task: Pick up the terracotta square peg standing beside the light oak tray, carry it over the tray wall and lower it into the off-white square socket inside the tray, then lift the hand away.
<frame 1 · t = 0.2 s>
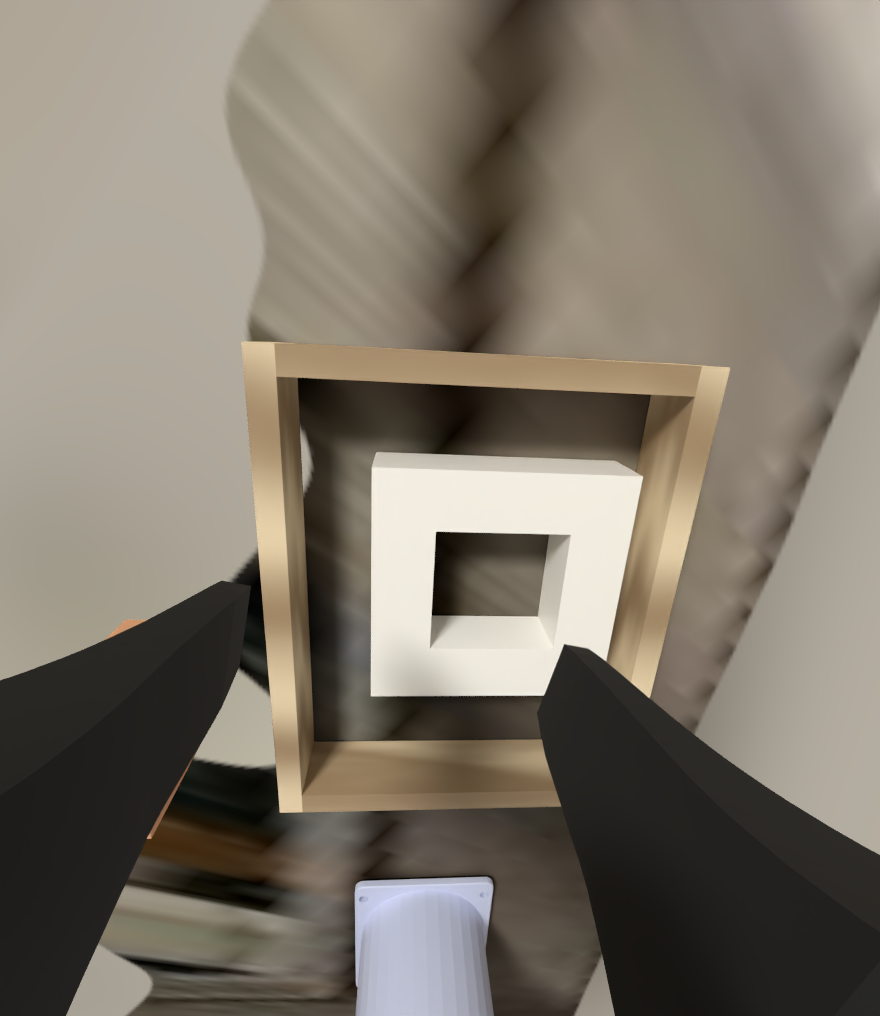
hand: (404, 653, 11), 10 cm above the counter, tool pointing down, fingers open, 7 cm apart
peg: (178, 657, 22), on the counter
tray: (464, 585, 21), on the counter
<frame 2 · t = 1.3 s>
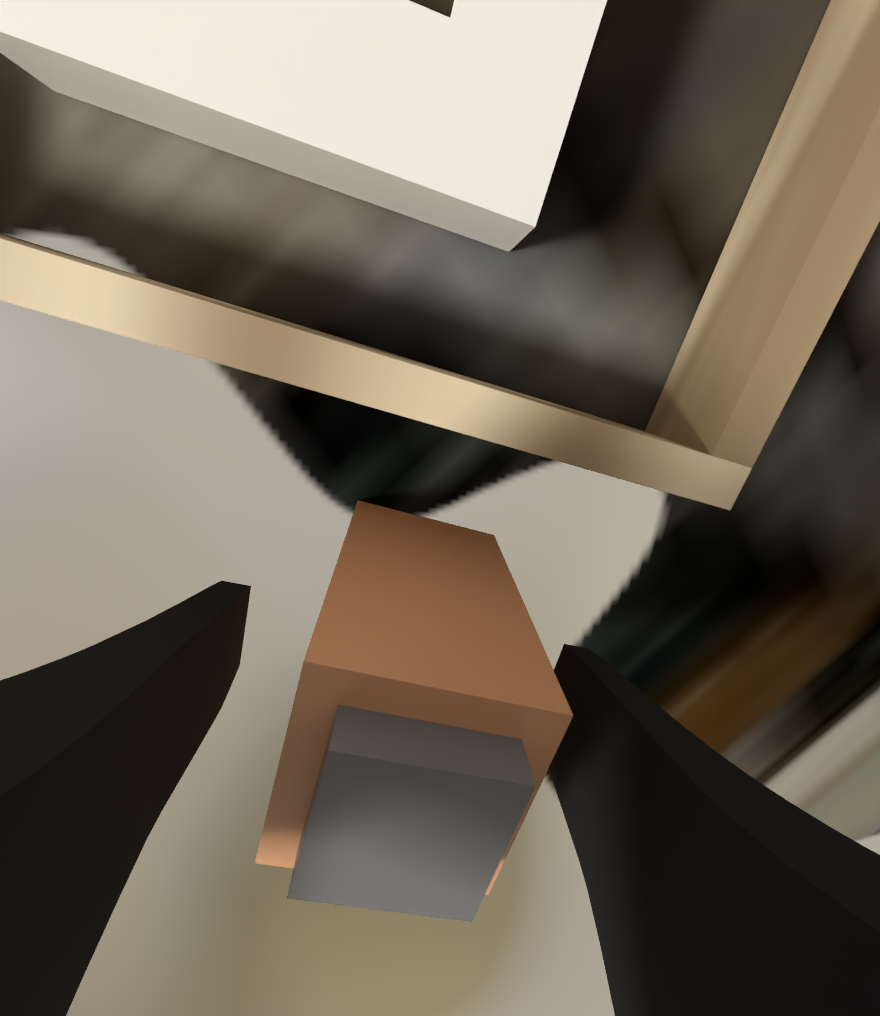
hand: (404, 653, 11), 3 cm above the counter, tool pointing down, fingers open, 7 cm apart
peg: (408, 579, 14), on the counter
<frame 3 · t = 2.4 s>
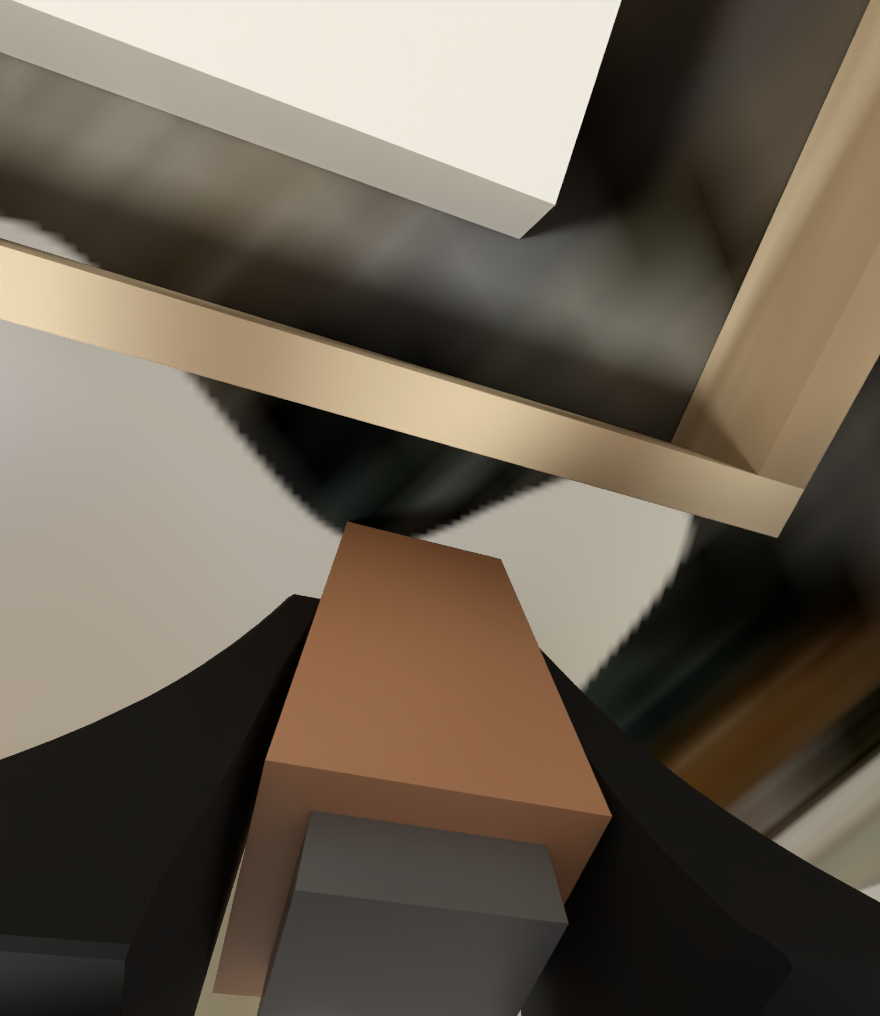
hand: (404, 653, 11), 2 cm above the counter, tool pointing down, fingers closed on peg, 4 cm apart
peg: (405, 608, 12), on the counter, touching gripper
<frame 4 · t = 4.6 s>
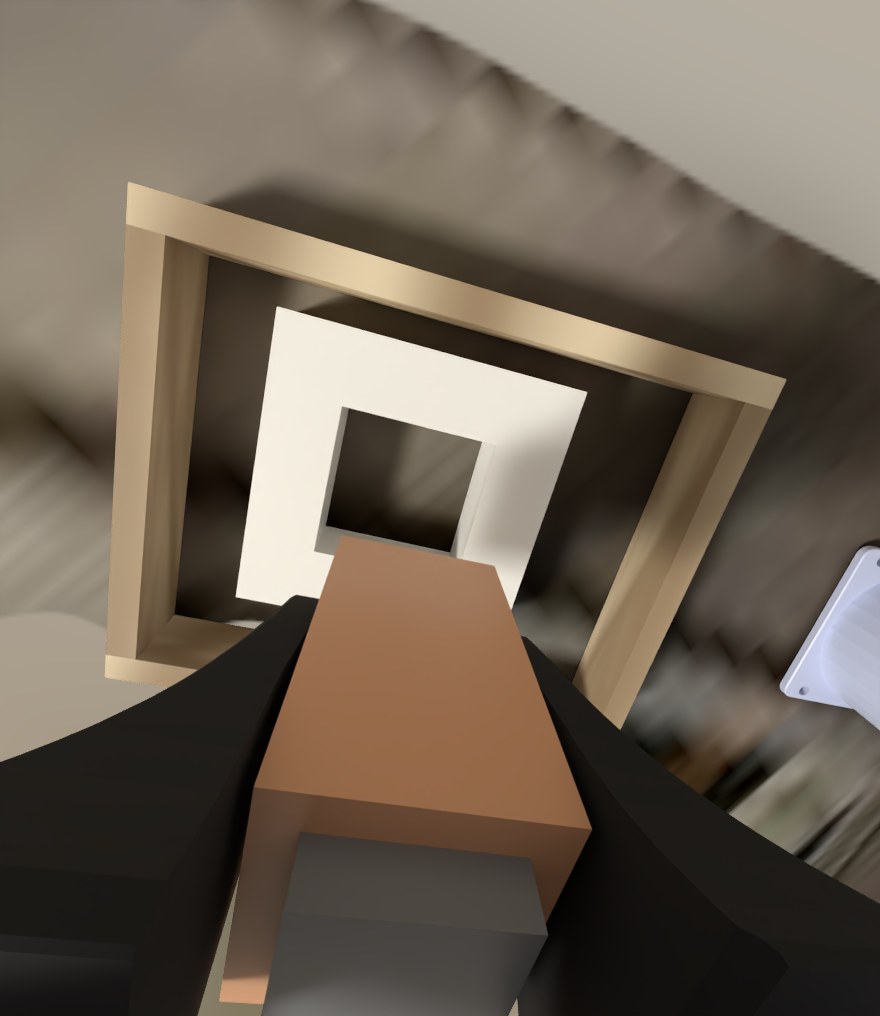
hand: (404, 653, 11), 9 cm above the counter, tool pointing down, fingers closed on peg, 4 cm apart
peg: (402, 616, 13), point 7 cm above the counter, touching gripper
tray: (422, 508, 19), on the counter
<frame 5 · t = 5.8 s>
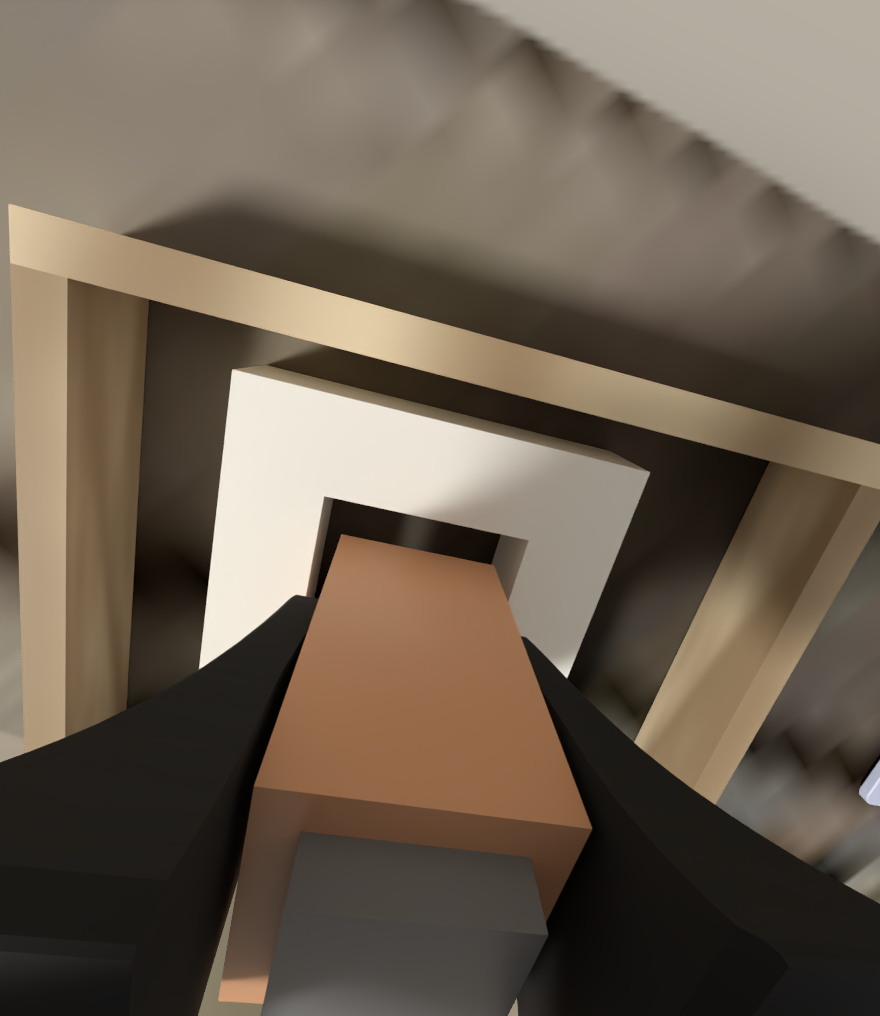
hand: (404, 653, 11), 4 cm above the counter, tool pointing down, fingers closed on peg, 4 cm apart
peg: (402, 616, 13), point 2 cm above the counter, touching gripper
tray: (429, 600, 15), on the counter
when the fingers open (3 cm above the counter, at t = 6.9 s): peg drops 1 cm, resting in tray.
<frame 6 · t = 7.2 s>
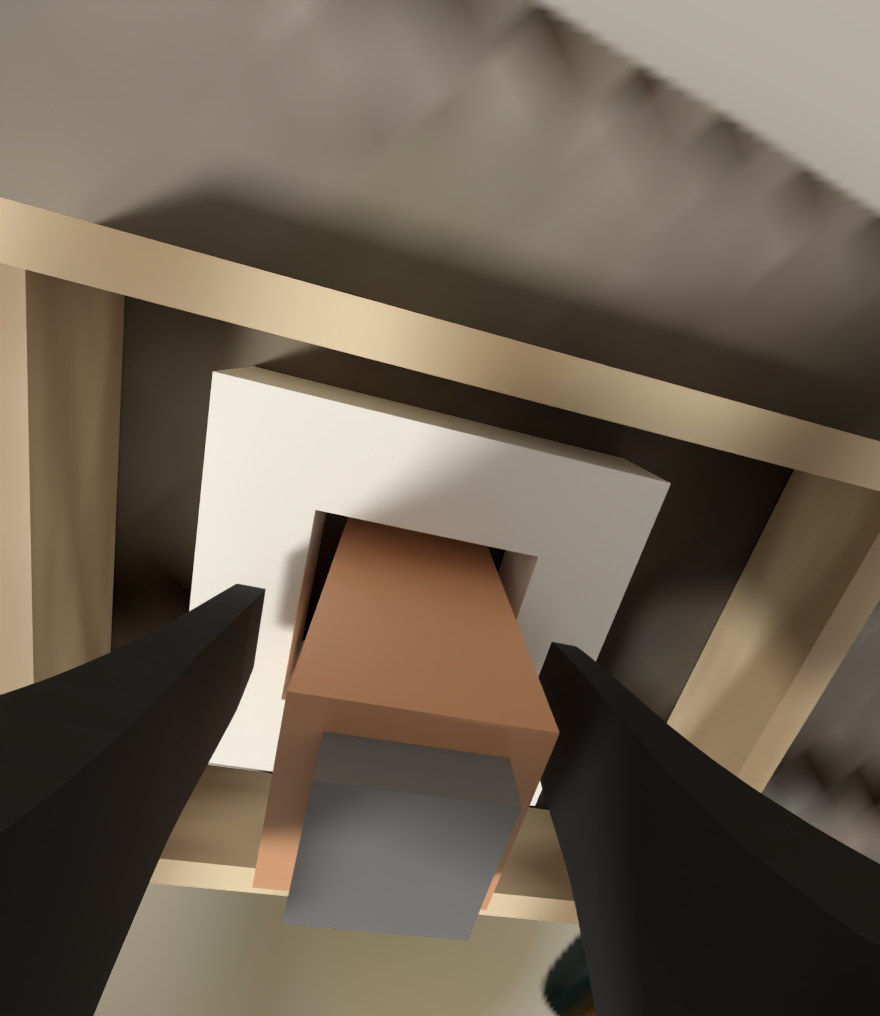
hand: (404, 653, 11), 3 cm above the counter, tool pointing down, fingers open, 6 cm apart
peg: (403, 590, 14), resting in tray
tray: (430, 617, 14), on the counter
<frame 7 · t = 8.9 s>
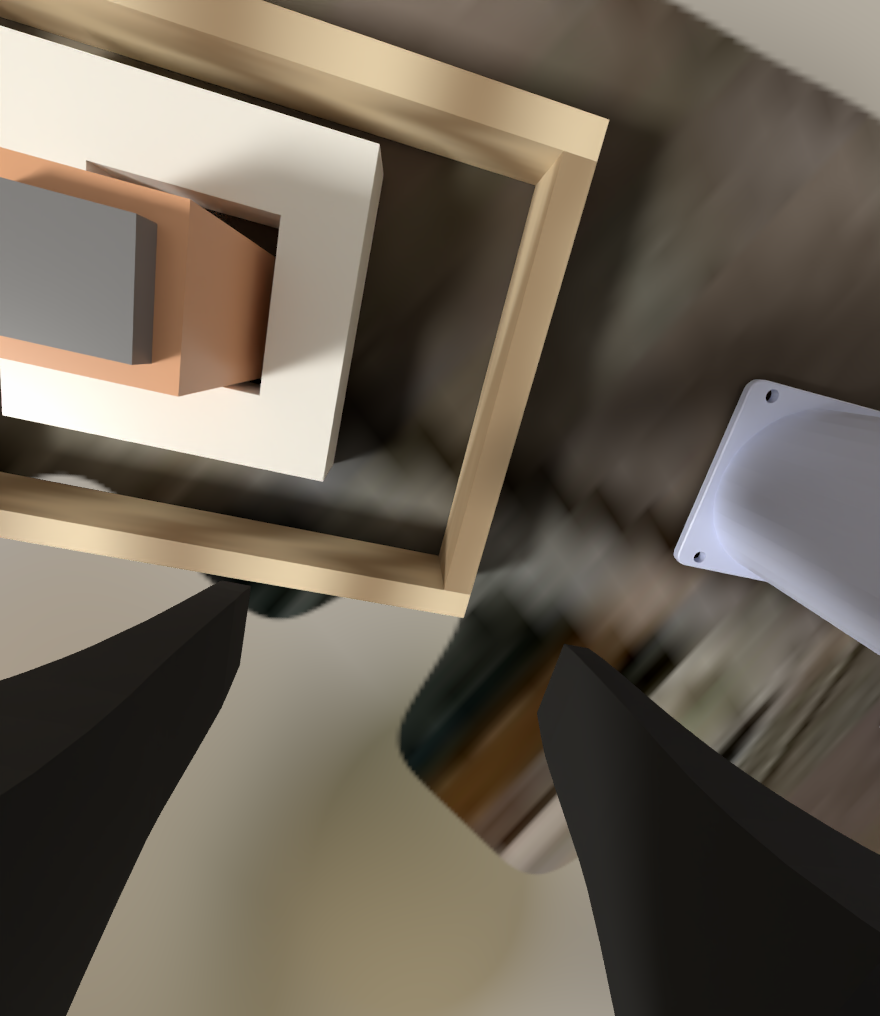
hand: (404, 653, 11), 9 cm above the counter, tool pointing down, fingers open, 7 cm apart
peg: (213, 306, 16), resting in tray
tray: (239, 333, 17), on the counter
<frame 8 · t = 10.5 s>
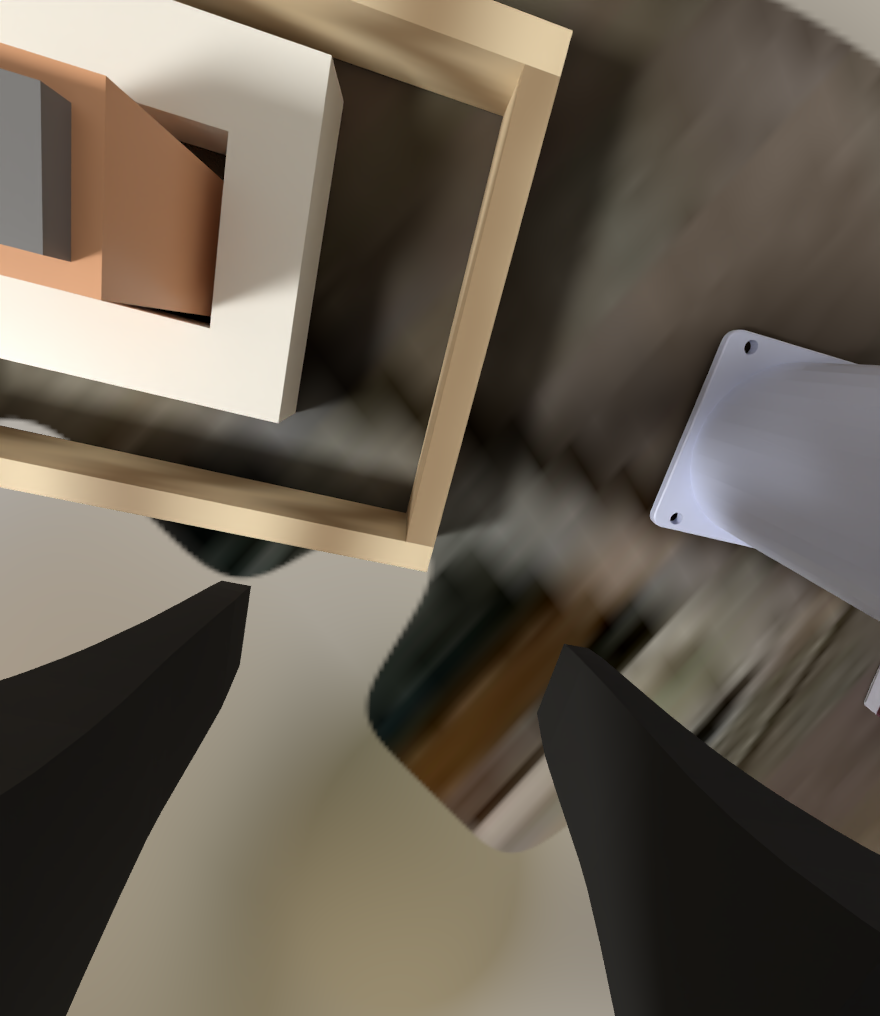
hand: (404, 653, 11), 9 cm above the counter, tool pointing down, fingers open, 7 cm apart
peg: (167, 240, 16), resting in tray
tray: (195, 270, 16), on the counter
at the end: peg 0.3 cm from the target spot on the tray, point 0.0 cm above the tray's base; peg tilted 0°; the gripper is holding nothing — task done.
